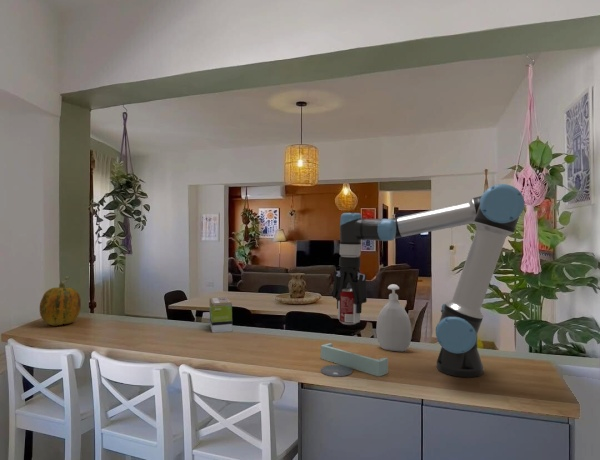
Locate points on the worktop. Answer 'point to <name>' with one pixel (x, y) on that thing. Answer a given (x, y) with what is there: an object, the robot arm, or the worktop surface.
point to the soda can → (346, 307)
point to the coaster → (336, 370)
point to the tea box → (220, 314)
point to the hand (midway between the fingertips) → (348, 320)
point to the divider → (354, 360)
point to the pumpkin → (60, 305)
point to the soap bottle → (393, 325)
